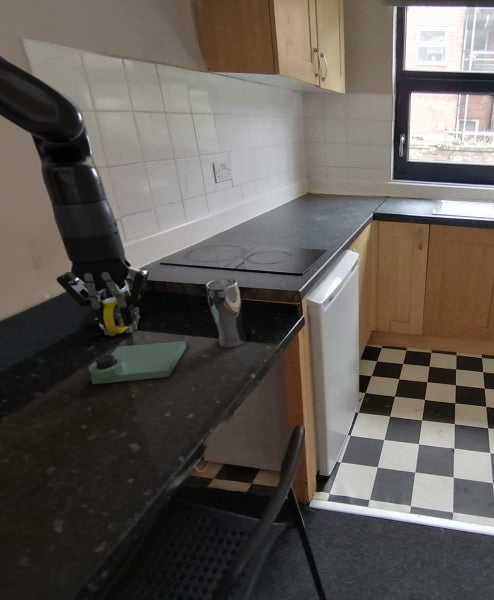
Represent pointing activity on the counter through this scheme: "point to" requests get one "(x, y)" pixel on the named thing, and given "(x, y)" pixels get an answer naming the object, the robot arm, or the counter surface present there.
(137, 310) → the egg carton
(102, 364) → the power button
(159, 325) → the counter surface
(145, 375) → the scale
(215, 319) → the beer glass
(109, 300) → the watch
